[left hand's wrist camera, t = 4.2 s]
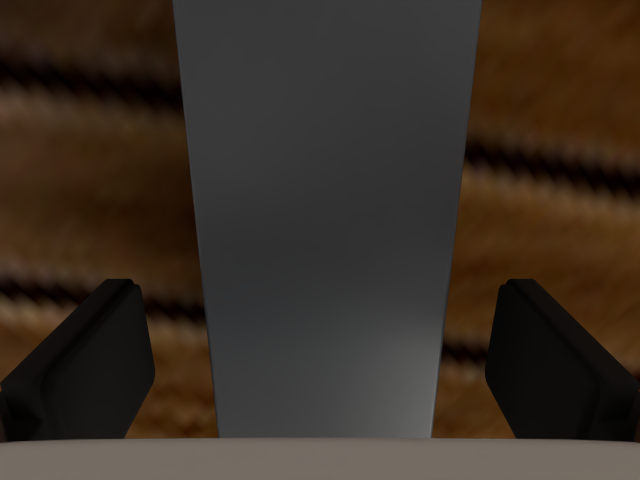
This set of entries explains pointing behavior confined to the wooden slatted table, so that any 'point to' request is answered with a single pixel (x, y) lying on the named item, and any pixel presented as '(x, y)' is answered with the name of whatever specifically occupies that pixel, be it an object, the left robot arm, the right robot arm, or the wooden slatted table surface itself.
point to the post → (326, 205)
